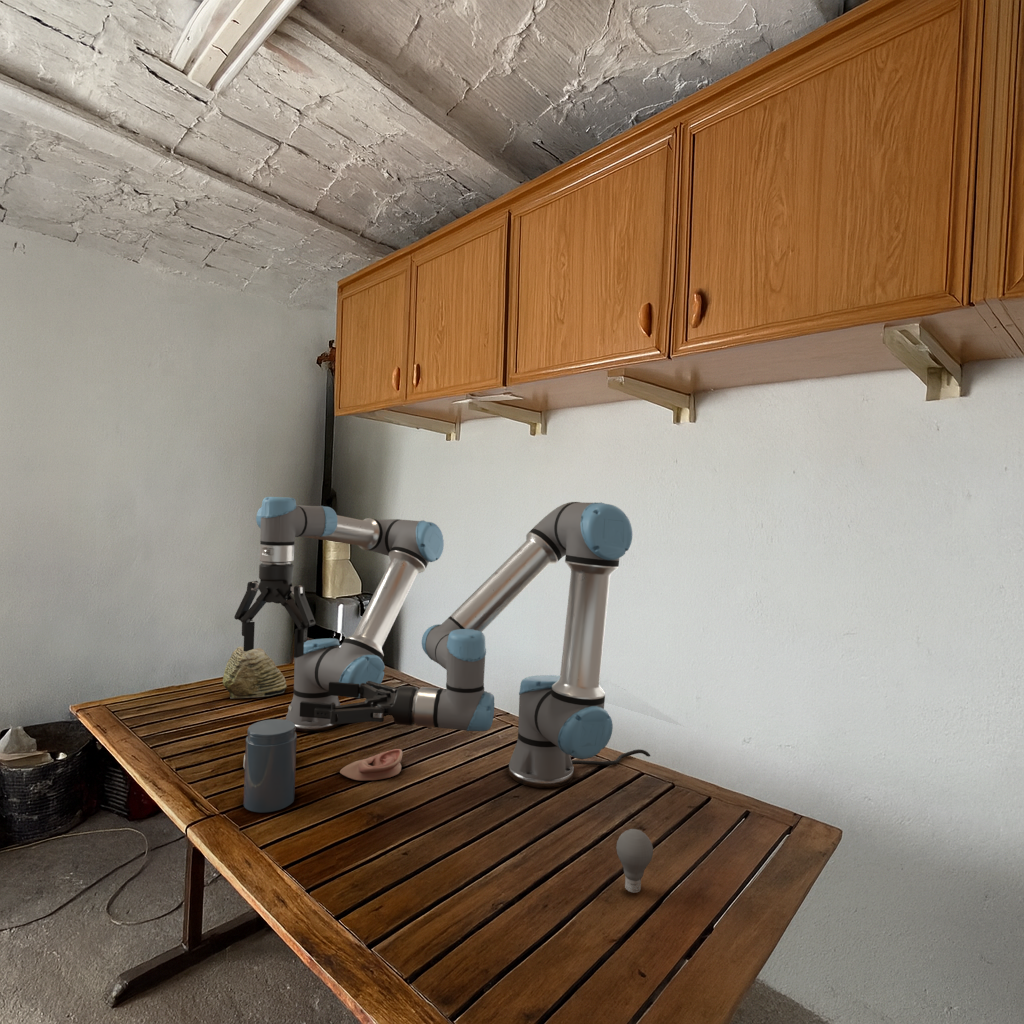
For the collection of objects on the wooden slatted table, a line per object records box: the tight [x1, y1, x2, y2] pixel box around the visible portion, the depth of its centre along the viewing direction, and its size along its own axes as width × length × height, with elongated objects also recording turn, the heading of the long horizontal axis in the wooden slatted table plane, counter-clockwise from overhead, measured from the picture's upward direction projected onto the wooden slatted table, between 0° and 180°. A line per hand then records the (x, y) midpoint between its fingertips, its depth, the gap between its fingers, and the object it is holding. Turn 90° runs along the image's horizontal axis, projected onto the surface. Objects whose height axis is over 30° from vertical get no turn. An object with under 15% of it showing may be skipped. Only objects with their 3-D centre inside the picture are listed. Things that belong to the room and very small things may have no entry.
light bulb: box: [615, 828, 654, 894], centre depth 106 cm, size 6×6×10 cm
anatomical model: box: [339, 748, 404, 782], centre depth 147 cm, size 13×4×12 cm
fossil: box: [222, 646, 288, 699], centre depth 198 cm, size 9×18×15 cm, turn 132°
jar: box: [243, 718, 298, 814], centre depth 131 cm, size 10×10×16 cm
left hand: (273, 653), depth 148 cm, fingers open, 13 cm apart
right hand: (315, 698), depth 130 cm, fingers open, 13 cm apart
